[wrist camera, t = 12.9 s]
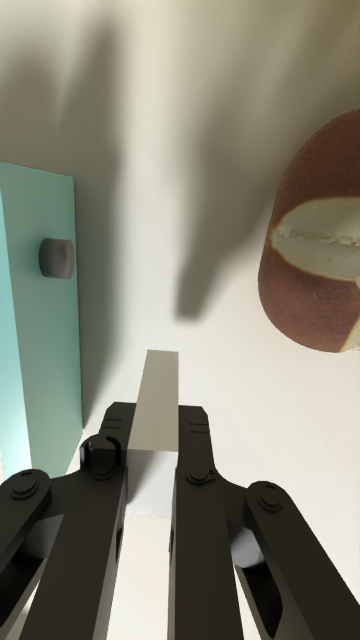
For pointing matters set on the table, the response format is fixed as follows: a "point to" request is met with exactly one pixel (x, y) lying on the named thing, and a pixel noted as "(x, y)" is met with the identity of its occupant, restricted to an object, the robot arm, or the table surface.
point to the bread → (317, 243)
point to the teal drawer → (38, 322)
